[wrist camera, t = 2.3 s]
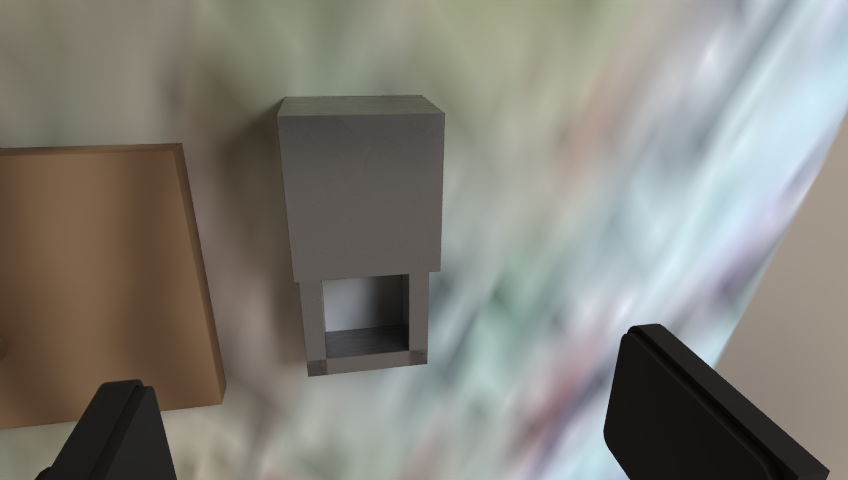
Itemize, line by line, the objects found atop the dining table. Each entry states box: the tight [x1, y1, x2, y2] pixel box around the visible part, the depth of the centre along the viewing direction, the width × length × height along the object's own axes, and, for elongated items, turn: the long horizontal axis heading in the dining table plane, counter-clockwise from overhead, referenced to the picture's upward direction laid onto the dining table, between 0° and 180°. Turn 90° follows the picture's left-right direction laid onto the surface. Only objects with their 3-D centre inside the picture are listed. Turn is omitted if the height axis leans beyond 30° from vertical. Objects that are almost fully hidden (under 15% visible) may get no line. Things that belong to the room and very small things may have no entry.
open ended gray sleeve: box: [277, 95, 445, 377], centre depth 24 cm, size 14×6×5 cm, turn 0°
